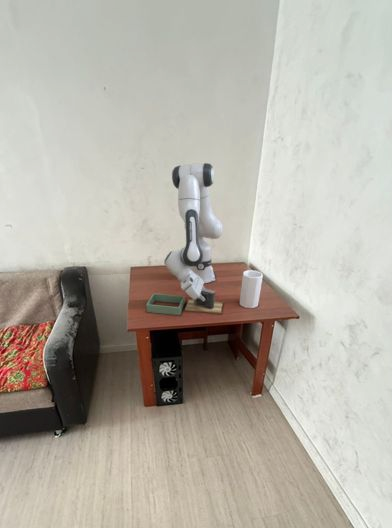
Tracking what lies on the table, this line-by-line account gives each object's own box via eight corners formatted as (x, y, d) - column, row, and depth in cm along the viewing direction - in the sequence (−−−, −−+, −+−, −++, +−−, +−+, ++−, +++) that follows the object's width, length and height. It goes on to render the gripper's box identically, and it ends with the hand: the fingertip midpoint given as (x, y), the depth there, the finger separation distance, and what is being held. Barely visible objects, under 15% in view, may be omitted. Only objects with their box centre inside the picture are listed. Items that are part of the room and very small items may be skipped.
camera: (215, 306, 165) (216, 289, 159) (211, 310, 161) (212, 294, 155) (197, 301, 169) (197, 285, 163) (192, 306, 165) (193, 289, 159)
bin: (153, 300, 172) (153, 293, 169) (184, 303, 170) (184, 296, 167) (146, 312, 160) (146, 304, 158) (179, 315, 158) (179, 307, 156)
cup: (243, 309, 165) (247, 278, 154) (236, 300, 174) (239, 270, 163) (261, 307, 168) (266, 276, 157) (253, 298, 176) (257, 269, 165)
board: (188, 300, 172) (188, 299, 172) (222, 304, 170) (222, 302, 169) (185, 310, 163) (185, 309, 162) (220, 314, 160) (220, 312, 160)
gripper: (187, 275, 167) (203, 292, 172) (180, 290, 151) (198, 308, 155) (195, 268, 164) (211, 285, 169) (189, 282, 147) (207, 301, 152)
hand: (205, 296), depth 162 cm, fingers open, 7 cm apart
